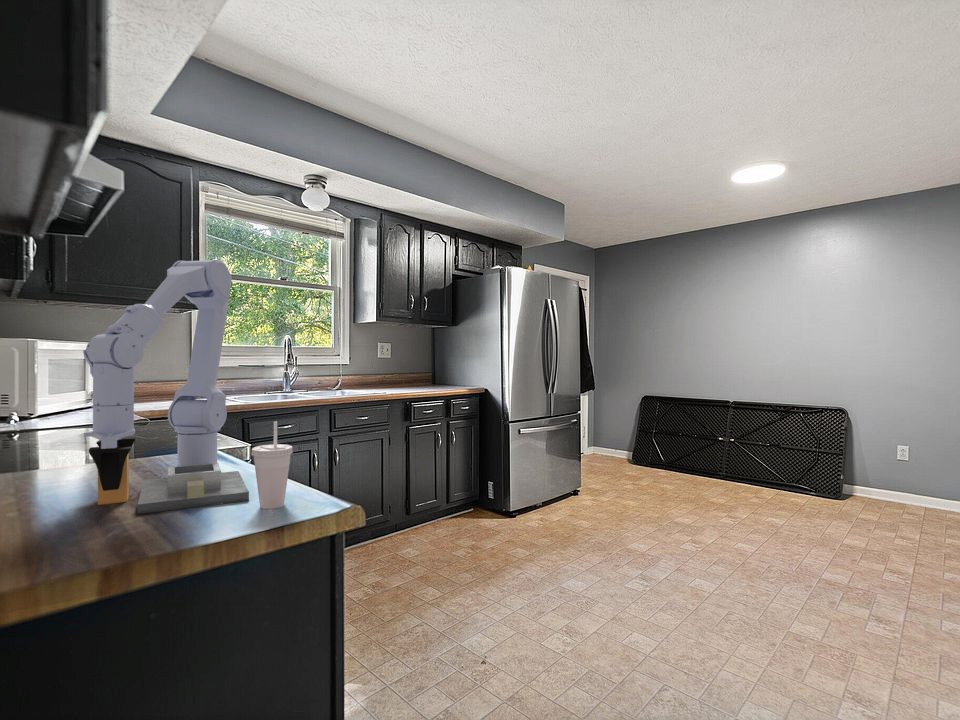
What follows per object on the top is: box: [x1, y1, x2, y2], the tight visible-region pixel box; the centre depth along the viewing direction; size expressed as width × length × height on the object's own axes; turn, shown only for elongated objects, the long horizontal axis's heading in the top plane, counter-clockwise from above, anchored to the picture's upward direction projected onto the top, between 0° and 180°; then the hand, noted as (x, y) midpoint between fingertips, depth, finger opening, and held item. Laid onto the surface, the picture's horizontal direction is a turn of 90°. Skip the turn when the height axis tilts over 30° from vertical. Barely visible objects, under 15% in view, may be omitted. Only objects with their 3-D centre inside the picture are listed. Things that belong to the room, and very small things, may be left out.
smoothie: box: [251, 420, 294, 510], centre depth 87 cm, size 6×6×14 cm
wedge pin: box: [97, 452, 130, 506], centre depth 90 cm, size 4×4×8 cm
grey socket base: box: [136, 462, 250, 515], centre depth 94 cm, size 18×16×4 cm
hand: (113, 484), depth 90 cm, fingers open, 7 cm apart
